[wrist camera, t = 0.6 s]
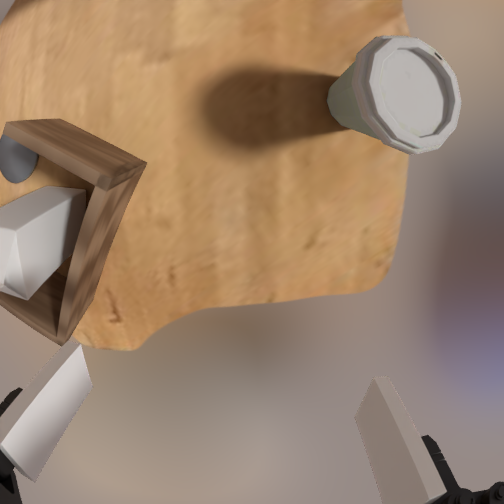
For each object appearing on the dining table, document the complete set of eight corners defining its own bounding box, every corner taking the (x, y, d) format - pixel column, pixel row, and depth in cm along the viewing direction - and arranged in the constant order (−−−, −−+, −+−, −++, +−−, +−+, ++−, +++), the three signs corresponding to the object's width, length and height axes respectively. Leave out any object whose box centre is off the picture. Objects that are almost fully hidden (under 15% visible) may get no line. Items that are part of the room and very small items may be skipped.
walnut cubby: (60, 118, 26) (6, 121, 16) (147, 162, 30) (111, 179, 20) (23, 256, 33) (-16, 292, 23) (92, 299, 37) (63, 347, 27)
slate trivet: (10, 113, 24) (8, 113, 23) (47, 132, 26) (44, 132, 26) (-5, 169, 26) (-8, 169, 26) (29, 191, 29) (26, 192, 28)
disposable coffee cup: (363, 159, 32) (440, 184, 18) (290, 114, 29) (341, 103, 15) (396, 94, 28) (478, 90, 15) (328, 46, 25) (392, 5, 12)
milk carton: (87, 240, 33) (7, 325, 16) (48, 233, 32) (-35, 305, 15) (87, 189, 30) (-13, 250, 13) (46, 185, 29) (-53, 238, 12)
